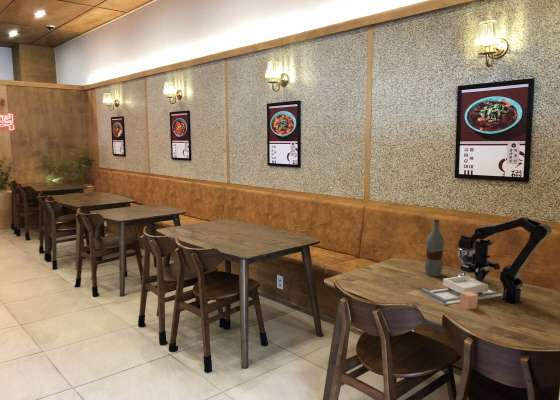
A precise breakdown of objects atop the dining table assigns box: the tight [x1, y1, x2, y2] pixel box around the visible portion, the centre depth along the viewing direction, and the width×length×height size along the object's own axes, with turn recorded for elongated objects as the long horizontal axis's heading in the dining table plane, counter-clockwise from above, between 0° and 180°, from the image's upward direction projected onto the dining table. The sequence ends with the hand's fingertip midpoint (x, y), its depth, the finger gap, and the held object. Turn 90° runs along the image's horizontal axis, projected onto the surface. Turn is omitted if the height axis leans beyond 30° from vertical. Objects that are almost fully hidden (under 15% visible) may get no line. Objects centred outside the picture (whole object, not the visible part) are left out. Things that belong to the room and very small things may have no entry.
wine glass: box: [457, 247, 475, 278], centre depth 236 cm, size 8×8×15 cm
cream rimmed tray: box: [442, 276, 489, 295], centre depth 209 cm, size 14×14×5 cm
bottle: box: [424, 218, 445, 277], centre depth 237 cm, size 9×9×30 cm
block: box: [459, 291, 479, 310], centre depth 194 cm, size 5×5×6 cm
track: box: [420, 287, 503, 306], centre depth 209 cm, size 16×34×2 cm, turn 110°
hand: (478, 283), depth 212 cm, fingers closed
